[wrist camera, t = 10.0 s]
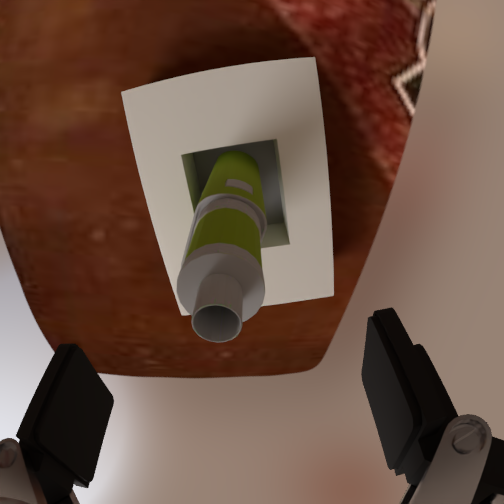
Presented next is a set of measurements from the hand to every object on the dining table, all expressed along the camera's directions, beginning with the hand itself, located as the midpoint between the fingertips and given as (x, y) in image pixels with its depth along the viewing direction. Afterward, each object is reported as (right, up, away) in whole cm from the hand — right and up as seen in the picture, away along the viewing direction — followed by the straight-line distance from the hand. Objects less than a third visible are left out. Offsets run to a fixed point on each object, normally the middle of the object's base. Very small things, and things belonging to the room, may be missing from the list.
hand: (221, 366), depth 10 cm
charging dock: (0, +10, +19) cm, 22 cm away
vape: (-1, +10, +19) cm, 21 cm away
